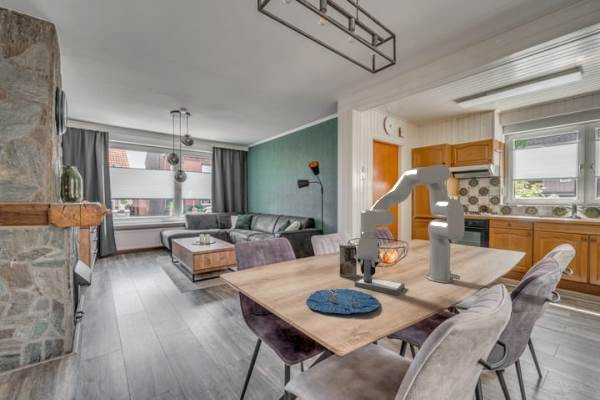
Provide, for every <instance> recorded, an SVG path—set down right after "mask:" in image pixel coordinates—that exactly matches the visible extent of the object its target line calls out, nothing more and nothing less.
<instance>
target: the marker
mask: <svg viewBox="0 0 600 400" xmlns="http://www.w3.org/2000/svg"><path fill="white" fill-rule="evenodd" d="M371 267H372V262H371V260H368V259H364V274H363V276H364V282H366V283H372V278H373V276H372V275H371Z"/></svg>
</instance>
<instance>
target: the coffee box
mask: <svg viewBox="0 0 600 400" xmlns="http://www.w3.org/2000/svg"><path fill="white" fill-rule="evenodd" d="M357 248H358V247H357V246H356V245H345V244H344V245H343V244H342V245H341V244H340V245H339V249H338V250H339V251H338V258H339V259H338V260H339V261H338V264H339V267H338V268H339V269H338V271H339V274H338V275H339V277H340V278H357V265H358V264H357V262H358V261H357V260H356V259H355V258H354V256H355V255H356V254H357Z"/></svg>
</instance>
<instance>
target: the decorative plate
mask: <svg viewBox="0 0 600 400" xmlns="http://www.w3.org/2000/svg"><path fill="white" fill-rule="evenodd" d="M305 303H306V304H307V306H308V307H309V309H311V310H312V311H313V310H314V311H319V312H322V313H328V314H330V313H334V314H339V315H344V314H345V315H348V314H349V315H350V314H351V313H352V314H353V313H354V314H357V313H370V312H371V311H374V310H376V309H377V308H379V307H380V306H381V303H380V300H379V299H378V298H376V296H373V295H372V294H368V293H365V292H363V291H360V290H354V289H350V288H336V289H335V288H334V289H333V288H331V289H320V290H316V291H314V293H311V294H310V295H309V297H307V299H306V301H305Z"/></svg>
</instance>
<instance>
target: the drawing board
mask: <svg viewBox="0 0 600 400" xmlns="http://www.w3.org/2000/svg"><path fill="white" fill-rule="evenodd" d="M354 287H355V288H360V289H365V290H369V291H374V292H375V291H376V292H379V293H383V294H389V295H393V296H399V295H400V294H401V293H402V292H403V291H404V289H405V283H402V282H398V281H397V282H396V281H393V280H392V281H391V280H387V279H382V278H377V277H376V278H375V277H372V283H366V282H364V275H363V276H362V277H361V278H359V279H358V280H356V281H354Z"/></svg>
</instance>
